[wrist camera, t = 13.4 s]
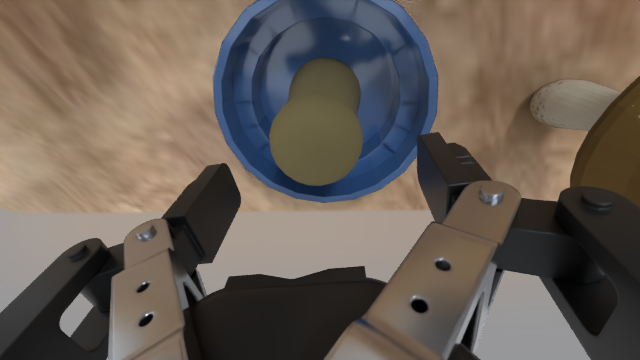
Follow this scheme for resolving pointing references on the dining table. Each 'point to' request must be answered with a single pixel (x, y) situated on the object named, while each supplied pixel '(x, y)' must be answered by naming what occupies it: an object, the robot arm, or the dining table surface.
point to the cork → (319, 124)
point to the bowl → (341, 44)
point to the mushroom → (597, 131)
